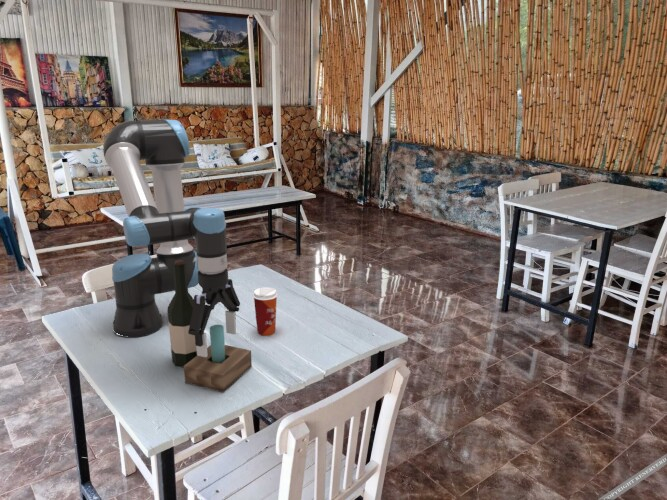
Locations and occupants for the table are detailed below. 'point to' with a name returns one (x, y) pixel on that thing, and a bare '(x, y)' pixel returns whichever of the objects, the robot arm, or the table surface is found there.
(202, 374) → the bore block
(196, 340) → the robot arm
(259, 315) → the paper cup
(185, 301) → the wine bottle
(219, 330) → the pin
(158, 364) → the table surface
